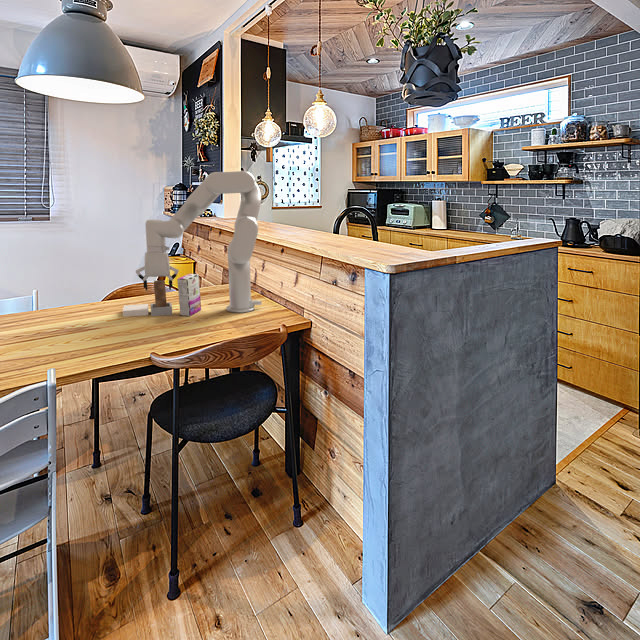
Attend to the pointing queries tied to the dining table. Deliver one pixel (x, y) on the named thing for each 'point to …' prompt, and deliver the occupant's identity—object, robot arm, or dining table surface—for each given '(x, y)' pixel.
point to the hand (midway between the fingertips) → (158, 289)
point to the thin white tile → (135, 310)
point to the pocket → (161, 310)
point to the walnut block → (160, 293)
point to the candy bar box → (189, 294)
